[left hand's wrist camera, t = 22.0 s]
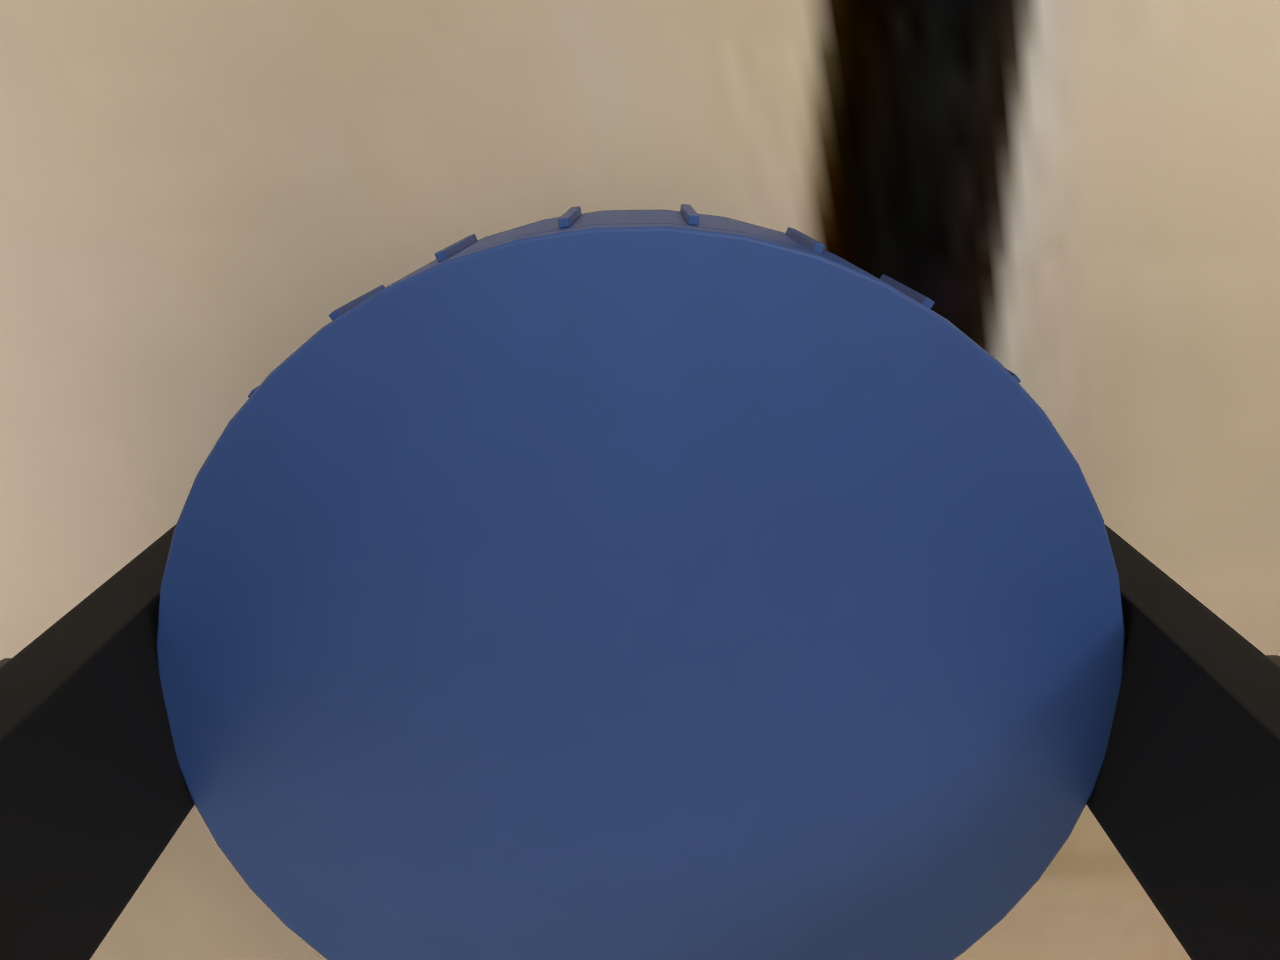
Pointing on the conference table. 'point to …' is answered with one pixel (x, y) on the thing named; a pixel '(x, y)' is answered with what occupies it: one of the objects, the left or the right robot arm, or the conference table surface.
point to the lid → (640, 612)
